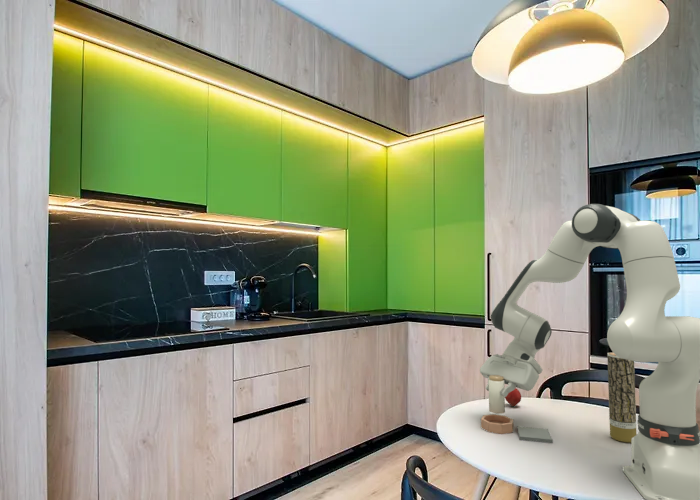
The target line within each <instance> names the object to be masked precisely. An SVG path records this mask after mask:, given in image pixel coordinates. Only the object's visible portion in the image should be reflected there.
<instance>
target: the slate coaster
mask: <svg viewBox="0 0 700 500" xmlns="http://www.w3.org/2000/svg"><path fill="white" fill-rule="evenodd" d="M516 428H517V434H518V437H519V441H528V442H538V443H548V444H553V443H554V440H553V437H552V435H551V433H550V430H549V428H539V427H532V426H531V427H530V426H516Z"/></svg>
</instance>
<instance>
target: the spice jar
mask: <svg viewBox="0 0 700 500" xmlns="http://www.w3.org/2000/svg"><path fill="white" fill-rule="evenodd" d="M502 388H503V389H505V388H506V387H505V384H504V377H503V376H500V375H490V376H489V391H488V410H489V412H491V413H492V414H497V415H502V414H505V413H506V399H505V397H504V396H502V395H501V394H500V391H501V389H502Z"/></svg>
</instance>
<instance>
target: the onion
mask: <svg viewBox="0 0 700 500" xmlns="http://www.w3.org/2000/svg"><path fill="white" fill-rule="evenodd" d="M521 401H522V394H521V392H520V390H519V388H517V387H516V388H515V389H514V390H513V391H511V392H510V393H508V395H507V396H506V397H505V402H507V403H508V404H509V405H510V406H511V407H513V406H515V407H516V406H517V405H518V404H519V403H521Z"/></svg>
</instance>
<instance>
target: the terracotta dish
mask: <svg viewBox="0 0 700 500" xmlns="http://www.w3.org/2000/svg"><path fill="white" fill-rule="evenodd" d="M480 421H481V422H480V423H481V424H480V427H482V428H483V430H484V429H485V430H484V431H486V430H487V432H488V433H492V432H493V434H497V435H498V434H499V435H504V434H512V433H513V432H514V428H515V427H514V419H513V418H511V417H509V416H507V415H502V414H497V413H492V414H484V415H482V417H481V419H480ZM482 428H481V429H482Z"/></svg>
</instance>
